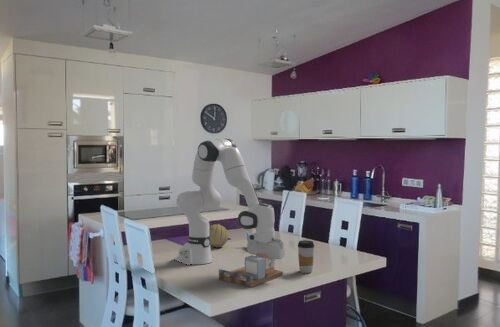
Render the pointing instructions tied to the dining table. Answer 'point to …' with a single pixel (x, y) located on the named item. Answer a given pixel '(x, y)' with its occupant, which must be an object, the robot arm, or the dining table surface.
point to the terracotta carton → (266, 263)
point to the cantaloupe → (217, 235)
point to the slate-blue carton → (255, 267)
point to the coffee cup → (305, 256)
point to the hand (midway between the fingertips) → (265, 265)
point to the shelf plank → (246, 277)
